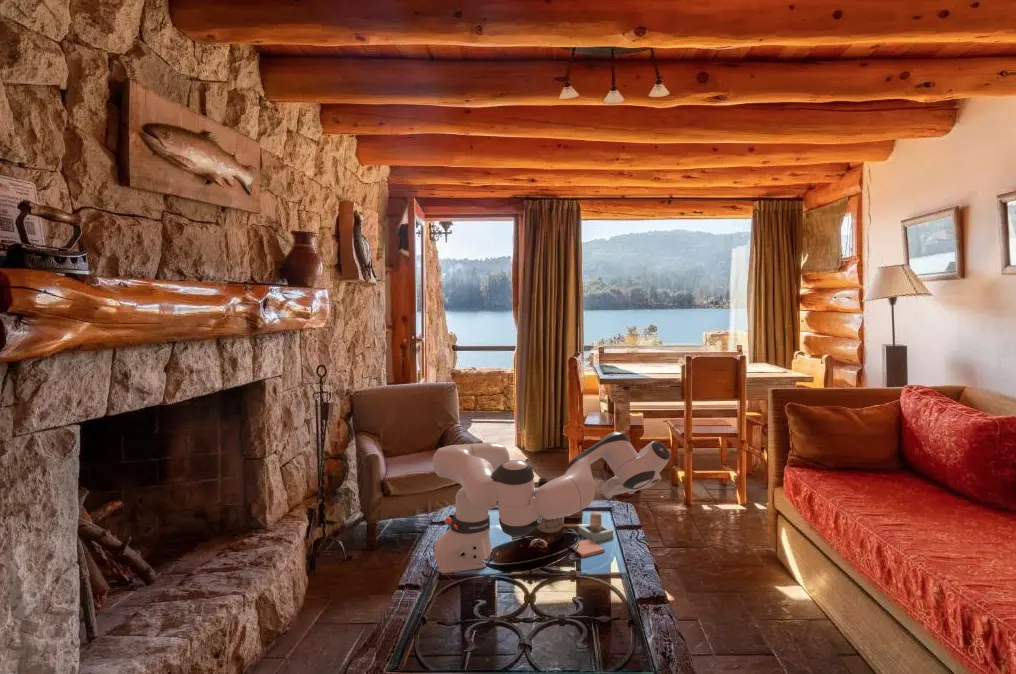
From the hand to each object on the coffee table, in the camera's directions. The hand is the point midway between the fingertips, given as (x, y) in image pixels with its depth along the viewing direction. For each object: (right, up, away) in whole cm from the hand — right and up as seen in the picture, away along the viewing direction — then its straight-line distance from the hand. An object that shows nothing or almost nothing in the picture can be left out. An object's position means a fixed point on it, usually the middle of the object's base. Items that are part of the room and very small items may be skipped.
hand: (618, 494), depth 210 cm
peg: (-6, -18, +13) cm, 24 cm away
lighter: (-13, -17, +31) cm, 38 cm away
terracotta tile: (-11, -20, +2) cm, 22 cm away
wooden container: (-25, -19, +13) cm, 34 cm away
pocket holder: (-6, -18, +13) cm, 23 cm away
